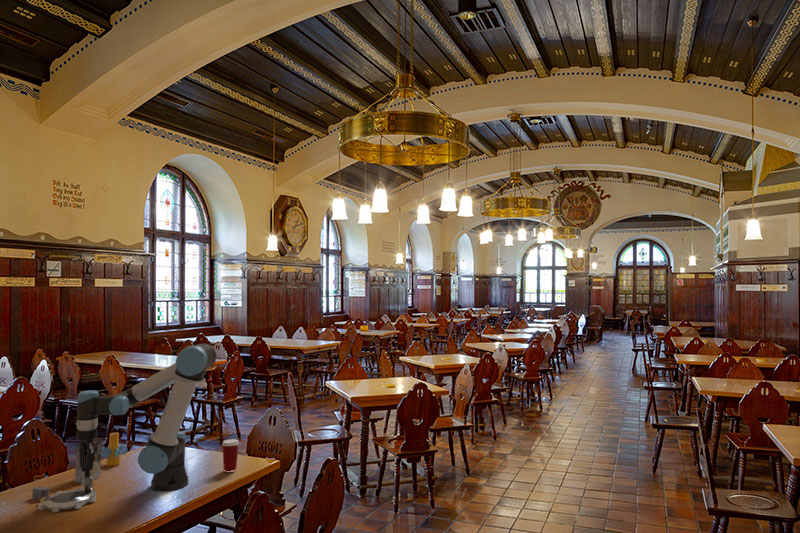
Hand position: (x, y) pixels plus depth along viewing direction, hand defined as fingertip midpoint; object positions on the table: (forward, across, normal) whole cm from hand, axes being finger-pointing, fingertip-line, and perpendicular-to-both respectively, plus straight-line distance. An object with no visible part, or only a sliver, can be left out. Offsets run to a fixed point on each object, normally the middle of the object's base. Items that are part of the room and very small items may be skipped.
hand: (85, 485), depth 227 cm
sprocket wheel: (+4, +4, -8) cm, 9 cm away
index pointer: (+4, -10, -14) cm, 17 cm away
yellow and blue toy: (+6, -34, +24) cm, 42 cm away
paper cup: (+5, +16, +57) cm, 60 cm away
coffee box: (+5, -20, +8) cm, 22 cm away
